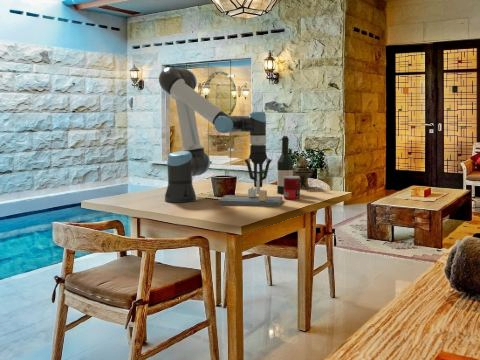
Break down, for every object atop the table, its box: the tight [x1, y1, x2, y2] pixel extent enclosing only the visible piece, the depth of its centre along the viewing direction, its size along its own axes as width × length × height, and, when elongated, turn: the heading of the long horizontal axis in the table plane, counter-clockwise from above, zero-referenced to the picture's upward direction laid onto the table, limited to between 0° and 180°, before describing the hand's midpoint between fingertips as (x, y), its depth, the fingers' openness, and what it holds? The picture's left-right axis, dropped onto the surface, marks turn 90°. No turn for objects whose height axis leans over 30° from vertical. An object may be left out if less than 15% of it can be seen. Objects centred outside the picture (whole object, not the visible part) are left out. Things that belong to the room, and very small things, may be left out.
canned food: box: [283, 176, 301, 201], centre depth 255 cm, size 8×8×11 cm
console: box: [218, 194, 283, 207], centre depth 245 cm, size 28×16×2 cm, turn 80°
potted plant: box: [293, 152, 313, 190], centre depth 291 cm, size 20×10×20 cm, turn 7°
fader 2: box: [258, 189, 268, 201], centre depth 239 cm, size 3×5×4 cm, turn 170°
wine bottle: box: [276, 135, 294, 195], centre depth 271 cm, size 8×8×30 cm
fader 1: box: [247, 186, 257, 197], centre depth 249 cm, size 3×5×4 cm, turn 170°
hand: (258, 193), depth 248 cm, fingers closed
